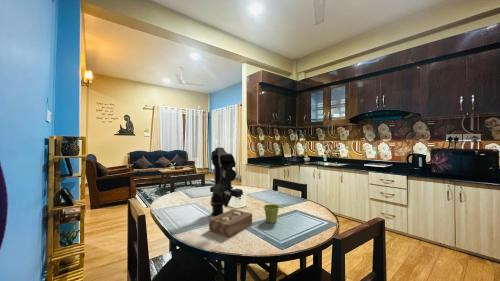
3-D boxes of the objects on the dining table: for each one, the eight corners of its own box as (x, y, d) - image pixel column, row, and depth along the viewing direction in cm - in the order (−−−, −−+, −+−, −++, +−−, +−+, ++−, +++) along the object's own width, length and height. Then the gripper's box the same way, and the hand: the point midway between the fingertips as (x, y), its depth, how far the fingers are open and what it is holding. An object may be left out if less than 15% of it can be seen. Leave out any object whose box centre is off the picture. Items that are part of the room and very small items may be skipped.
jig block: (209, 230, 108) (209, 219, 108) (233, 218, 124) (233, 208, 124) (229, 237, 100) (229, 225, 100) (252, 224, 116) (252, 213, 116)
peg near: (220, 228, 107) (220, 219, 107) (225, 225, 110) (225, 216, 110) (225, 230, 105) (225, 220, 105) (230, 227, 108) (230, 218, 108)
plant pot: (266, 225, 115) (266, 209, 115) (261, 219, 124) (261, 204, 124) (281, 223, 117) (282, 208, 117) (275, 217, 126) (275, 203, 126)
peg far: (232, 222, 115) (232, 213, 115) (236, 220, 119) (236, 211, 119) (237, 223, 113) (237, 214, 113) (242, 221, 116) (242, 212, 116)
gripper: (202, 177, 107) (202, 207, 107) (229, 182, 96) (229, 214, 96) (217, 175, 116) (217, 202, 116) (243, 178, 106) (243, 208, 106)
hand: (225, 206), depth 108 cm, fingers closed
